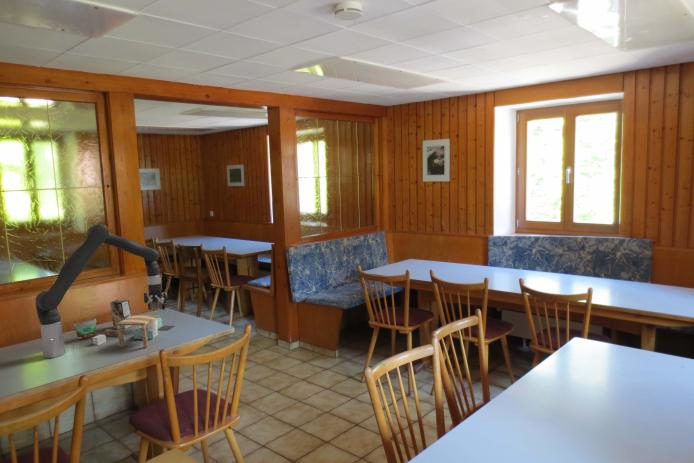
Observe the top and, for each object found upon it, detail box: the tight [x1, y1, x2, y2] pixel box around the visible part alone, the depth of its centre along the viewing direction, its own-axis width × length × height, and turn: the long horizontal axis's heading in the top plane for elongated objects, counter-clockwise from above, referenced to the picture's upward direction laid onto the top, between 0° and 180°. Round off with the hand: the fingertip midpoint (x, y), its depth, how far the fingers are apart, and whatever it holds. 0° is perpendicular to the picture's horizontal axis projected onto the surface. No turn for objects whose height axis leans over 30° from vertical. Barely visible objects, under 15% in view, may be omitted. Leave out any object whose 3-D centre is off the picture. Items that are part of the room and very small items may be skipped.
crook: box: [132, 317, 163, 340], centre depth 282 cm, size 22×12×5 cm, turn 167°
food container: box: [73, 317, 98, 341], centre depth 279 cm, size 12×6×10 cm, turn 143°
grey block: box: [91, 334, 107, 346], centre depth 269 cm, size 5×4×4 cm
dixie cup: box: [146, 318, 158, 337], centre depth 275 cm, size 8×8×10 cm
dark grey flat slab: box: [157, 325, 175, 331], centre depth 288 cm, size 7×7×1 cm
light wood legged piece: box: [116, 314, 161, 349], centre depth 264 cm, size 14×16×13 cm
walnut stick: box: [104, 329, 125, 337], centre depth 282 cm, size 12×2×3 cm, turn 71°
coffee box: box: [109, 299, 133, 330], centre depth 296 cm, size 9×6×16 cm
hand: (157, 309), depth 291 cm, fingers open, 8 cm apart
